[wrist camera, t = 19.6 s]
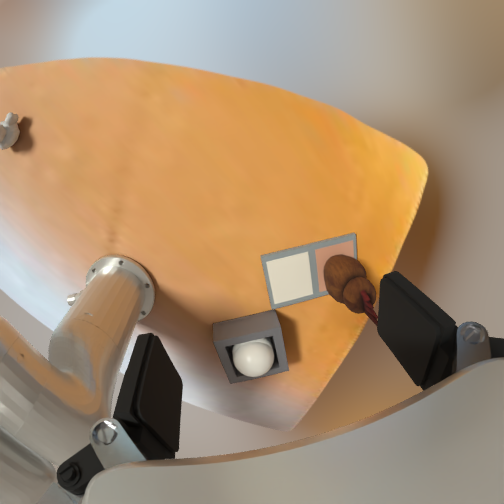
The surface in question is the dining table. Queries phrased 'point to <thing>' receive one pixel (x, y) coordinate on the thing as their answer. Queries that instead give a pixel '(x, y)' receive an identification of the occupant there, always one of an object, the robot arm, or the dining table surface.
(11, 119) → the rubber duck
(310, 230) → the dining table surface
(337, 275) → the wooden figurine
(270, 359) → the dome
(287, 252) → the grey flat tray
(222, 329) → the dome housing
